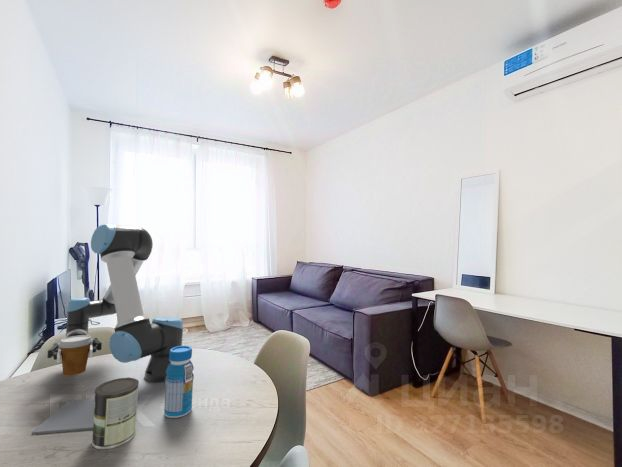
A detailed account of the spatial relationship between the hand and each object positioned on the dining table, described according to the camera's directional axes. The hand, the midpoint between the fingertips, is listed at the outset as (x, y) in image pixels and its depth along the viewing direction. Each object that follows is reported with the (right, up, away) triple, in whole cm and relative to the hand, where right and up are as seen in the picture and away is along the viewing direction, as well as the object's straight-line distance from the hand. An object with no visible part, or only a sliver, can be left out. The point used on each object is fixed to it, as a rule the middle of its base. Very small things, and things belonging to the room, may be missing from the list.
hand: (75, 356), depth 103 cm
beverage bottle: (+39, -15, -7) cm, 43 cm away
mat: (+11, -14, -10) cm, 20 cm away
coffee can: (+27, -14, -21) cm, 37 cm away
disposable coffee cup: (-3, -7, +3) cm, 9 cm away
